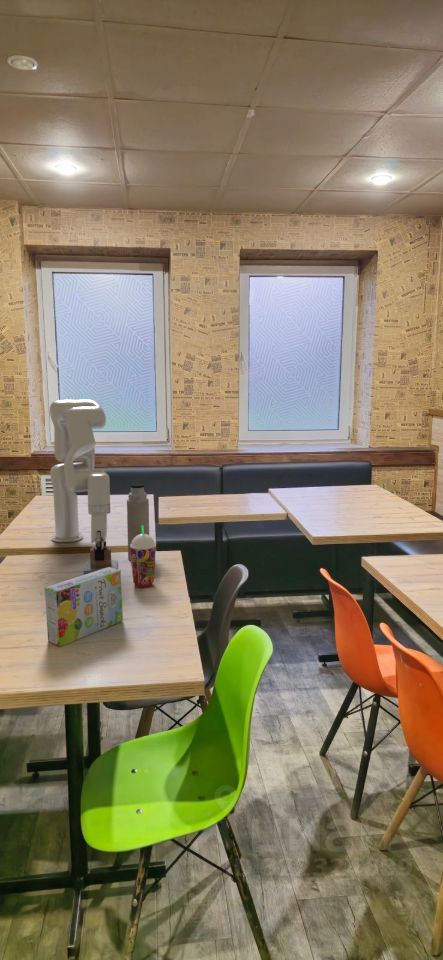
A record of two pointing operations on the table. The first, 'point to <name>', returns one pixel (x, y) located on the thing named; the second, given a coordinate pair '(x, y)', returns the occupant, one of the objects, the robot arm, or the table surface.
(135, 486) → the thermos bottle
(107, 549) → the walnut ring
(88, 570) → the post stand
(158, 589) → the table surface
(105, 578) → the snack box
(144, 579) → the smoothie
